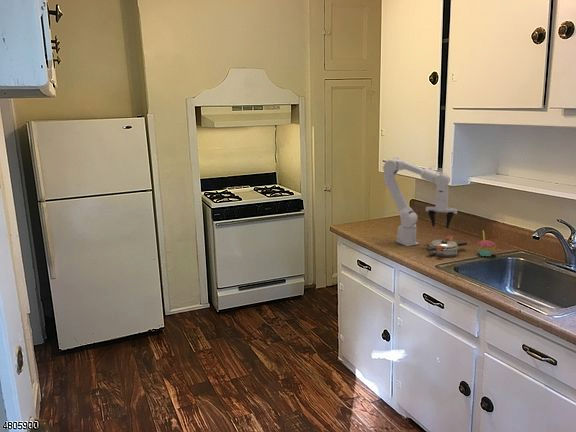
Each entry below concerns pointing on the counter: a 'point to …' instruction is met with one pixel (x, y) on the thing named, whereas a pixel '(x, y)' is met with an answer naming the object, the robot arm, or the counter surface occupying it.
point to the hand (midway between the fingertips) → (440, 226)
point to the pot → (445, 250)
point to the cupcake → (485, 247)
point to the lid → (444, 243)
